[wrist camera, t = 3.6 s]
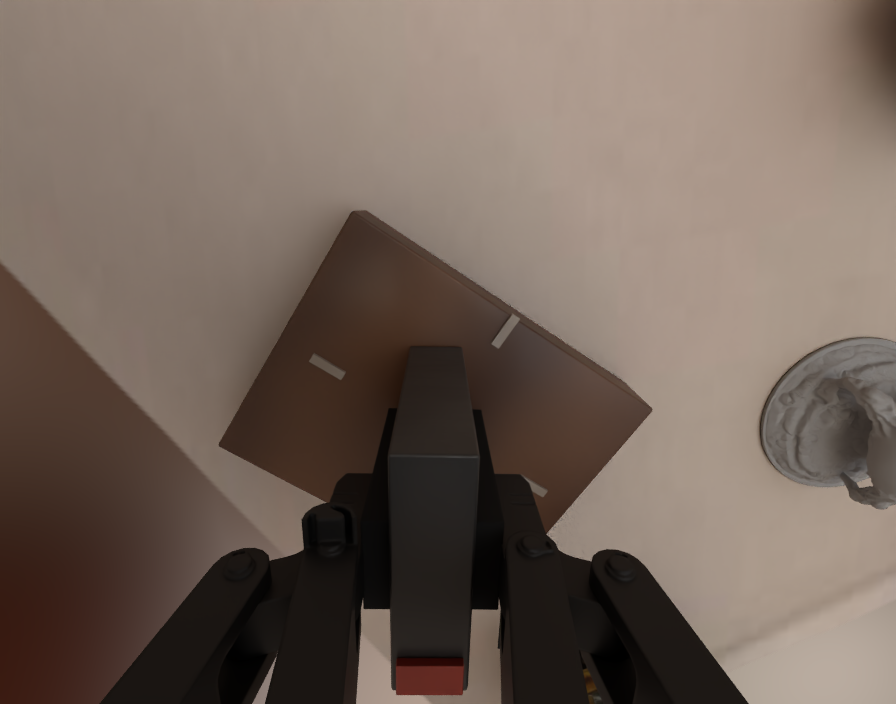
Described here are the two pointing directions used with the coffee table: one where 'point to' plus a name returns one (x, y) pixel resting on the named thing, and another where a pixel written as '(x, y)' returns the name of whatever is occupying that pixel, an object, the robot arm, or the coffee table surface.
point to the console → (383, 367)
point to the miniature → (837, 420)
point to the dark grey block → (432, 524)
